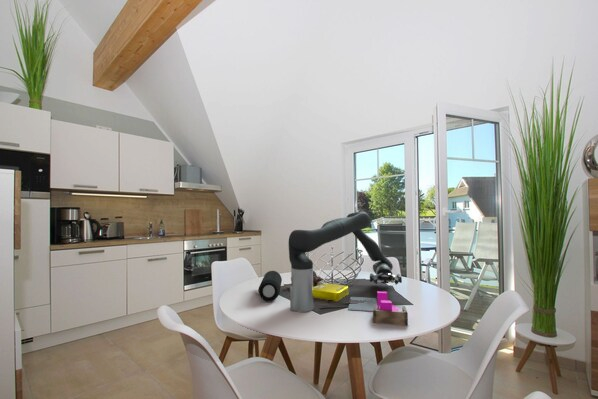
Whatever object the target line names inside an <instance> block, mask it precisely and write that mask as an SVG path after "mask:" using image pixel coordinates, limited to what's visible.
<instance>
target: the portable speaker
mask: <svg viewBox="0 0 598 399" xmlns="http://www.w3.org/2000/svg"><path fill="white" fill-rule="evenodd" d="M282 281H283V280H282V275H281V274H280V273H279V272H278V271H276V270H269V271H267V272H266V273H264V275H263V277H262V280H261V282H260V284H259V286H258V289H257V290H258V291H257V293H258V295H259V297H260V298H261V299H262V300H263V301H266V302H272V301H275V300H276V299H277V298H278V297H279V296H280V291H281V286H282V283H283V282H282Z"/></svg>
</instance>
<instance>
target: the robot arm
mask: <svg viewBox="0 0 598 399" xmlns="http://www.w3.org/2000/svg"><path fill="white" fill-rule="evenodd" d="M370 224H371V217H370V215H369V213H367V212H366V211H357V212H351V213H348V214H347V216H345V217H340V218H336V219H335V218H334V219H331V220H330V221H326V222H325V223H323V225H322V226H321V227H320V228H317V229H312V230H310V229H309V230H307V229H306V230H304V229H295V230H292V231H291V232H290V234H289V237H288V257H289V263H290V265H291V267H290V268H291V269H290V270H291V273H290V274H291V277H290V281H291V286H289V294H290V295H289V302H290V303H289V306H290V307H289V309H290V310H291V311H294V312H298V313H299V312H300V313H308V312H312V310H314V298H313V271H314V262H313V261H312V259H310V258H309V257H308V255H307V253H311V252H313V251H314V250H317V249H318V248H320V247H321V246H323V245H325V244H328V243H330V242H332V241H336V240H339V239H342V238H343V237H346V236H348V235H350V234H353V235H354V236H355V238H356V239H357V240H358V241H359V242H360V244H361V245H362V246H363V248H364V249H365V251H366V253H367V255H368V256H369V258H370V260H371V261H372V262H375V263H373V264H372V270H373V272H374V273H375V274H374V273H371V272H370V273H369V282H373V283H375V285H377V284H378V283H381V284H389V283H394V285H398V284H399V283H402V282H403V281H402V276H401V274H400V273H398V274H396V275H395V274H393V272H392V270H393V263H392V262H391V261H390V260H389V259H388V258H387V256H385V255H384V253H383V252H382V250H381V248H380V246H379V244H378V243H377V242H376V240H374V239H373V238H372V237H370V236H369V235H367V234H366V232H364V231H363V230H365V229H367V228H369V226H370Z"/></svg>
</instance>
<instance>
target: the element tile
mask: <svg viewBox="0 0 598 399" xmlns="http://www.w3.org/2000/svg"><path fill="white" fill-rule="evenodd" d="M346 295H347V296H349V286H348V285H343V284H335V283H330V282H329V283H328V282H322V283H319V284H317V286H315V287H313V297H315V298H314V299H316V298H321V299H320V300H322V299H326V300H325V301H328V300H334V301H333V302H338V301H337V300H340V299H341V298H343V297H344V298H346V297H347V296H346ZM345 296H346V297H345ZM344 298H343V299H344ZM341 300H342V299H341ZM341 300H340V301H341Z"/></svg>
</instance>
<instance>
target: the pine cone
mask: <svg viewBox="0 0 598 399" xmlns="http://www.w3.org/2000/svg"><path fill="white" fill-rule="evenodd" d="M323 280H324V278H323V277H320V276H318V275H317V273H316V271H315V270H313V287H315V286H317V285H318V283H319V282H322V281H323Z"/></svg>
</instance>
